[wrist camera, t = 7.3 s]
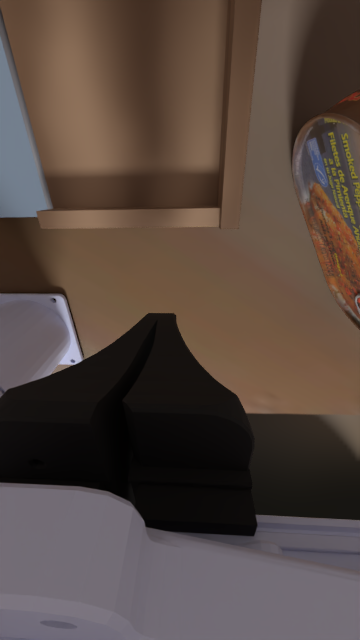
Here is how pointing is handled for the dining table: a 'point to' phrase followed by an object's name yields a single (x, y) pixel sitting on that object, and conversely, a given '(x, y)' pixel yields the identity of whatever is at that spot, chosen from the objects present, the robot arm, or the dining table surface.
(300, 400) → the dining table surface
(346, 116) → the tin
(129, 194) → the light wood shallow box
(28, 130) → the panel
